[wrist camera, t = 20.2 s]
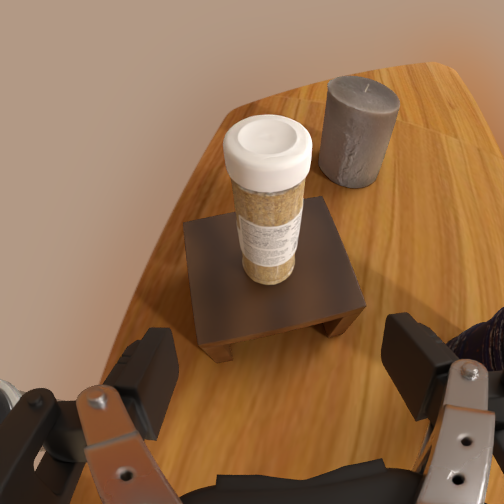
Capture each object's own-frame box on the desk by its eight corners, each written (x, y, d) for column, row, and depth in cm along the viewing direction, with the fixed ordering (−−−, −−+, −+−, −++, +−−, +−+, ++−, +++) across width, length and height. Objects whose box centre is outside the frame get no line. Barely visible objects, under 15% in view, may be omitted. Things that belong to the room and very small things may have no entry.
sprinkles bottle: (256, 233, 27) (247, 104, 16) (303, 251, 26) (324, 123, 15) (232, 274, 25) (204, 151, 14) (282, 296, 24) (293, 177, 13)
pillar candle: (378, 154, 45) (399, 78, 32) (376, 196, 40) (406, 112, 28) (322, 141, 47) (332, 62, 34) (312, 180, 42) (323, 91, 29)
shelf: (216, 363, 30) (197, 345, 22) (200, 265, 36) (182, 222, 28) (342, 333, 31) (367, 306, 23) (312, 242, 37) (322, 195, 29)
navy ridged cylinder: (420, 361, 29) (502, 319, 16) (471, 320, 30) (545, 266, 17) (452, 428, 24) (543, 418, 11) (500, 381, 25) (582, 348, 12)
